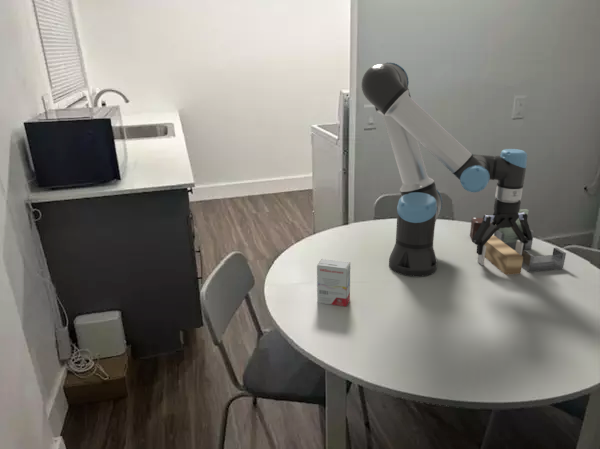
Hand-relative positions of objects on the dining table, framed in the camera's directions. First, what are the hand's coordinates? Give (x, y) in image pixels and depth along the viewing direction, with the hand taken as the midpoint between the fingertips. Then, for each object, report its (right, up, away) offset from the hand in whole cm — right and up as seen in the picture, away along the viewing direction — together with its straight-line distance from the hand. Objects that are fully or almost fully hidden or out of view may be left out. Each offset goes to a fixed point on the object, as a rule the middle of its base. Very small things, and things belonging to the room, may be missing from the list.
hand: (499, 261), depth 154 cm
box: (+1, +7, +19) cm, 20 cm away
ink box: (-56, -10, -22) cm, 61 cm away
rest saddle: (+12, -1, -4) cm, 13 cm away
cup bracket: (+9, +4, +11) cm, 15 cm away
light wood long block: (0, 0, 0) cm, 1 cm away
